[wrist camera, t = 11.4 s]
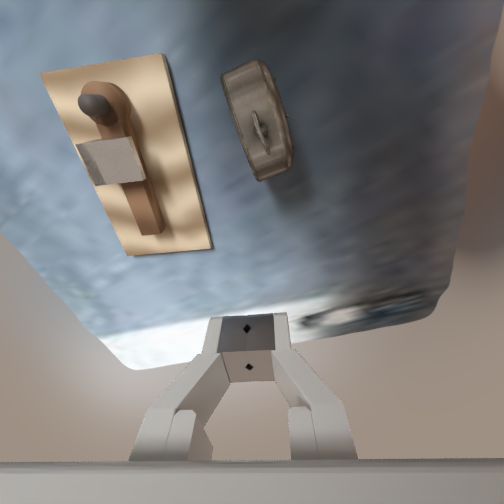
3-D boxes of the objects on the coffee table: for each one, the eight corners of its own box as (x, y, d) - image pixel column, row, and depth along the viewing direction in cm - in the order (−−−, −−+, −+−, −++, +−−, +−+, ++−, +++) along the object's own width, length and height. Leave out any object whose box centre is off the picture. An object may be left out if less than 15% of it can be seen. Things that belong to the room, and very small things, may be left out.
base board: (46, 74, 29) (39, 73, 28) (164, 54, 28) (161, 52, 27) (130, 252, 43) (127, 255, 42) (211, 244, 42) (210, 248, 41)
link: (86, 84, 28) (56, 82, 24) (122, 79, 28) (97, 76, 24) (144, 228, 39) (130, 244, 35) (170, 226, 38) (159, 242, 34)
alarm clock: (225, 80, 29) (195, 66, 15) (267, 60, 28) (275, 26, 14) (256, 167, 35) (253, 214, 21) (292, 154, 33) (315, 193, 20)
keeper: (96, 138, 32) (75, 144, 28) (143, 132, 31) (127, 137, 28) (113, 176, 35) (95, 186, 31) (155, 171, 34) (143, 180, 30)
